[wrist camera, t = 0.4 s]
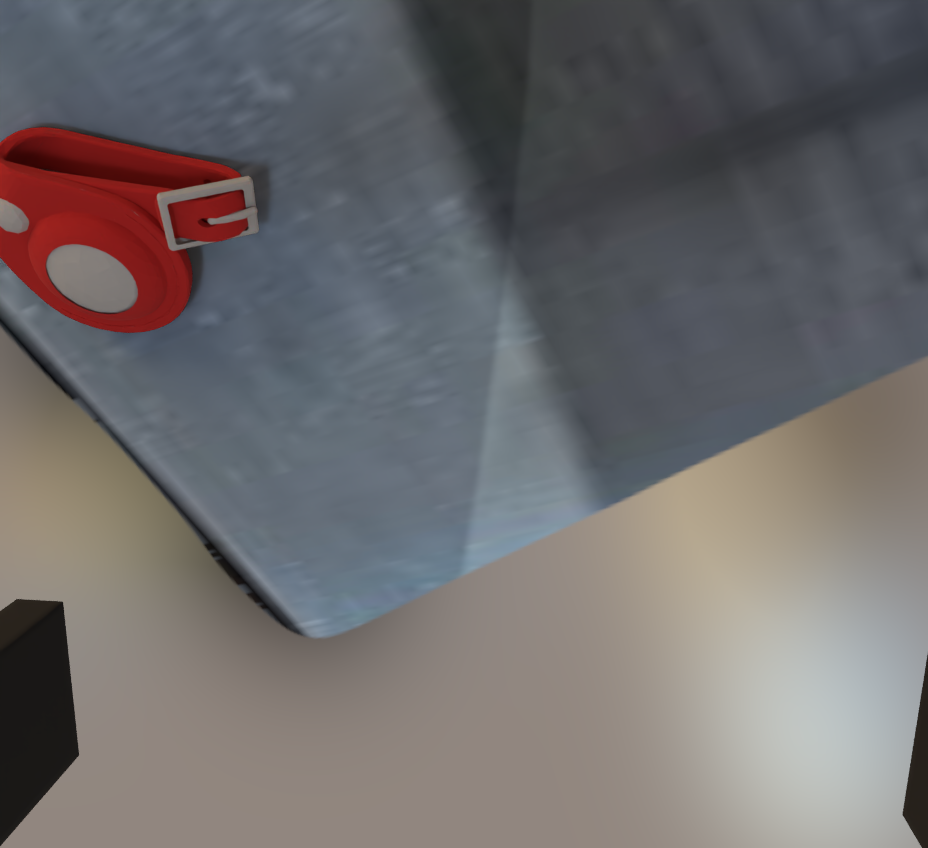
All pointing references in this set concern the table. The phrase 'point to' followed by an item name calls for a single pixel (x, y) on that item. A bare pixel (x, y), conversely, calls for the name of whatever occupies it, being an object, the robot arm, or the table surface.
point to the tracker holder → (113, 224)
